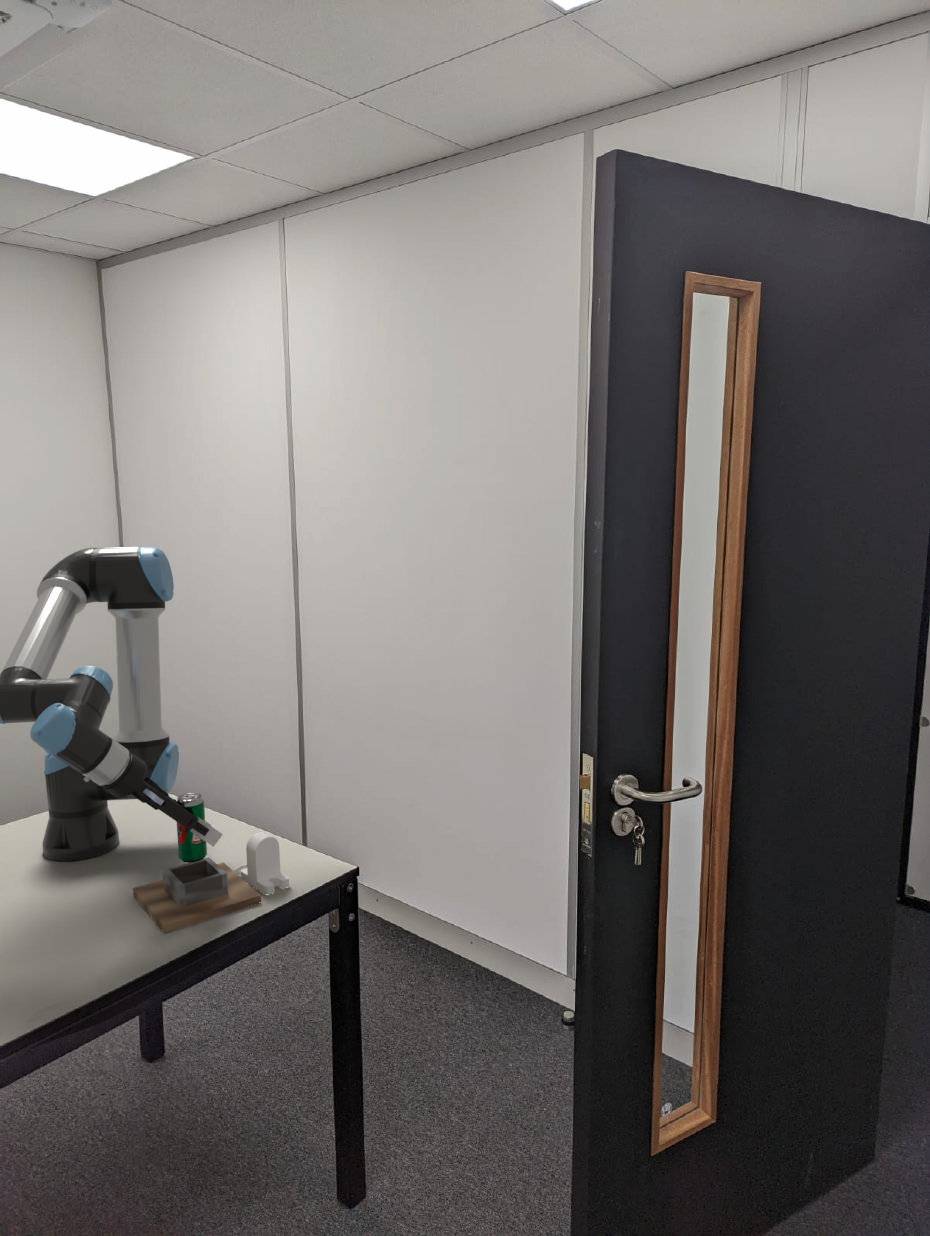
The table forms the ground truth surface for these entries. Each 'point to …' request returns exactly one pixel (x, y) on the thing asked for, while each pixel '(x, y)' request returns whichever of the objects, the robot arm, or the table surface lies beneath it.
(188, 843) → the soda can
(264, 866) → the cable organizer
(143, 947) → the table surface
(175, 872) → the socket board
